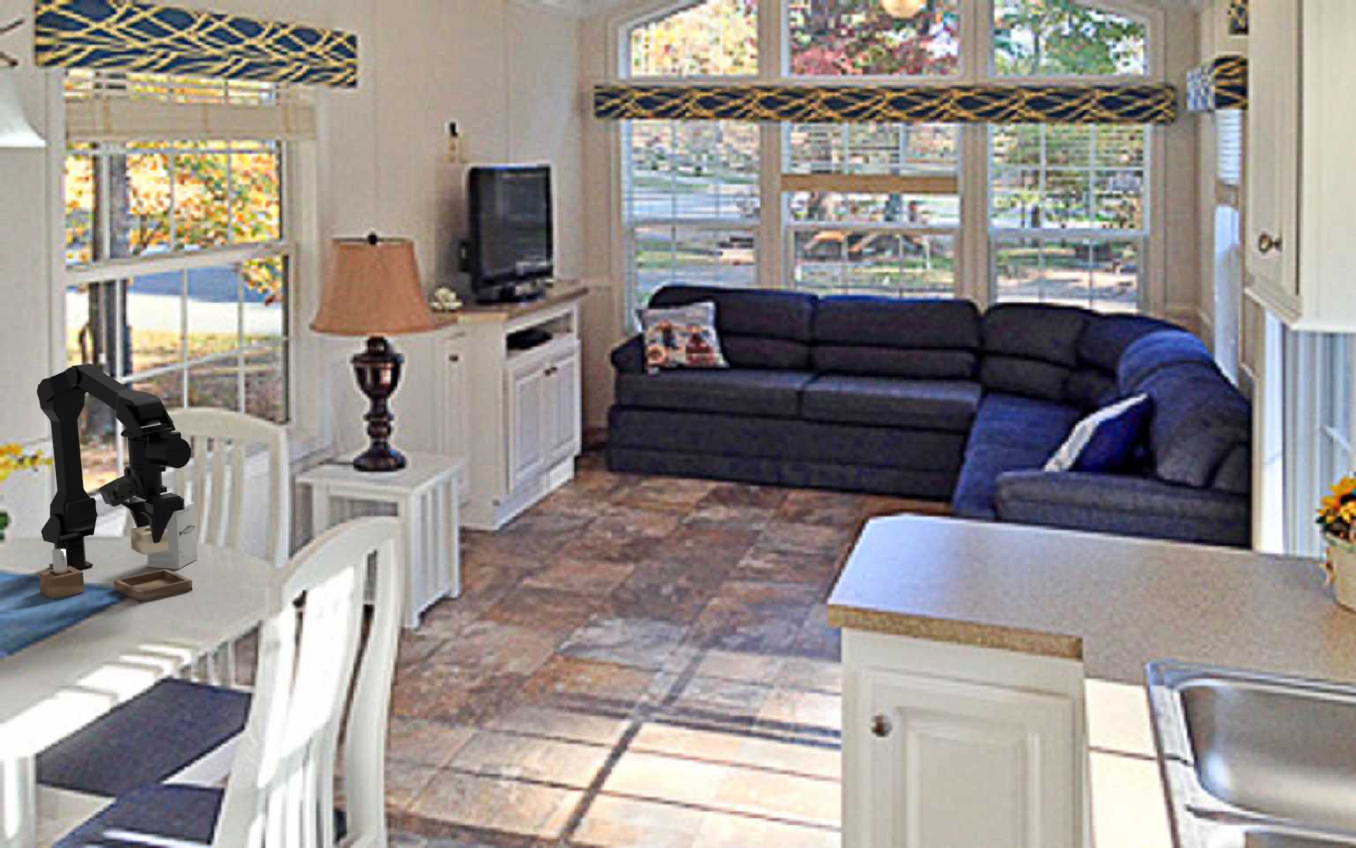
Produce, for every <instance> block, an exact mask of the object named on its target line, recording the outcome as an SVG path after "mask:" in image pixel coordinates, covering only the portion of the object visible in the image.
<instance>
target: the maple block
mask: <svg viewBox="0 0 1356 848" xmlns="http://www.w3.org/2000/svg"><path fill="white" fill-rule="evenodd" d="M130 544H131V545H130V547H131V548H130V549H131V550H133V551H136V552H137V553H139V554H140V555H143V556H145V555H146V556H147V554H152V553H156V552H161V551H166V550H169V549H168V530H166V529H165V531H164V533H163V536H162V538H161V540H160V542H159V543H154V542H153V539H152V535H151V530H150V525H149V526H144V527H138V528H137V527H135V528H130Z"/></svg>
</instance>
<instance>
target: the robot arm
mask: <svg viewBox="0 0 1356 848" xmlns="http://www.w3.org/2000/svg"><path fill="white" fill-rule="evenodd" d="M86 394H89V395H91V396H92V397H94V398H95V399H96V400H99V402H101V403H103V404H105V405H106V406H107V407H109V408H111V409H112V410H113V411H114V414H115V415H114V417H115V418H116V419H117V421H119V422H120V423H121V424H122V425H123V426H124V427H125V429H124V430H122V431H121V432H120V437H122V438H123V437H124V438H127V450H128V451H127V452H128V466H125V467H124V469H123V475H122V476H120V477H117V478H114V479H113V480H111V481H109V482H108V483H105V484H103V485H102V486H100V487H99V488H98V491H99V493H100V495H101V497H102V500H103V502H104V504H106V505H110V507H112V508H113V507H118V506H120V505H121V506H123V507H125V508H126V509H127V510H128V511H129V512H130V514H131V516H132V518H133V521H134V524H135V528H138V527H144V526H149V525H150V530H151V535H152V539H153V542H154V543H159V542H160V540H161V538H162V536H163V533H164V531H165V529H166V527H167V524H168V522H169V520H170V518H171V516H172V515H173V513H174V512H175V511H180V510H184V509H185V504H184V502H185V499H184V498H183V497H181V495H178V494H176V493H173V492H168V486H166V485H163V473H164V472H165V473H166V471H167V470H166V469H167V468H172V469H182V468H183V467H185V466H186V465H187V464H188V463H189V462H190V461H191V457H192V448H191V446H190V444H189V442H188V441H187V440H186V439H184V438H182V433H181V431H176V427H175V425H174V420H173V419H172V418H171V416H170V414H169V413H168V412H167V408H166V407H165V404H164V403H163V402H162V399H161V398H160V397H159V396H158V395H156V394H153V393H150V392H147V391H141V390H134V389H131V388H129V387H128V386H125V384H123V383H121V382H119V381H118V380H116V379H115V378H113V377H111V376H110V375H108V374H106V373H105V372H103V371H102V370H100V369H99V367H98V366H97V365H96V364H94V363H83V364H75V365H71V366H70V367H67V369H65V370H64V371H61V372H59V373H56V374H54V375H52V376H49V377H46V378H43V379H42V380H40V382H39V384H37V389H36V395H37V398H38V402H39V408H40V409H41V411H42V412H43V414H44V415H45V416H46V417H47V418H48V420H49V421H50V427H51V440H52V449H53V451H52V452H53V461H54V470H55V471H54V472H55V481H56V493H55V495H54V497H53V499H52V501H51V503H50V505H49V518H48V520H47V521H46V522H45V524H44V526H43V527H42V529H41V530H40V533H41V536H42V539H43V542H47V543H51V544H53V547H54V549H58V548H64V549H66V559H67V566H71V567H73V568H75V569H77V570H82V569H87V568H91V567H93V566H94V564H93V563H92V562H91V561H90V562H89V561H88V560H87V557H86V544H85V537H88V536H89V537H90V536H94V534H95V531H96V524H97V517H99V515H98V512H97V500H96V498H95V497H94V496H92V497H91V496H90V495H89V494H88V492H87V491H86V490H85V486H84V475H83V464H82V454H81V443H80V434H79V433H80V432H79V422H78V421H79V418H80V416H81V414H82V412H83V411H84V407H85V405H86V403H85V402H86ZM48 567H49V568H52V569H53V562H52V563H49V565H48Z"/></svg>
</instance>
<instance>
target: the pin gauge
mask: <svg viewBox="0 0 1356 848" xmlns="http://www.w3.org/2000/svg"><path fill="white" fill-rule="evenodd" d="M51 555H52V563H53V568H52V569H54V576H58V575H63V574H68V572H67V559H66V549H64V548H58V549H52V550H51Z"/></svg>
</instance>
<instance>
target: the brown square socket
mask: <svg viewBox="0 0 1356 848" xmlns="http://www.w3.org/2000/svg"><path fill="white" fill-rule="evenodd" d="M67 572H68V574H63V575H58V576H54V569H53V568H52V569H48V570H43V571H39V572H38V581H39V592H40V593H42V594H43V595H45V596H46V597H48V598H50V597H51V598H50V599H52V598H53V599H52V600H55V599H54V598H56V599H60V598H59V597H61V598H65V597H68V596H74V595H77V594H83V593H85V580H84V572H83V571H81V570H80V569H78V570H77V569H75V568H73V567H71V566H67Z"/></svg>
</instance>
